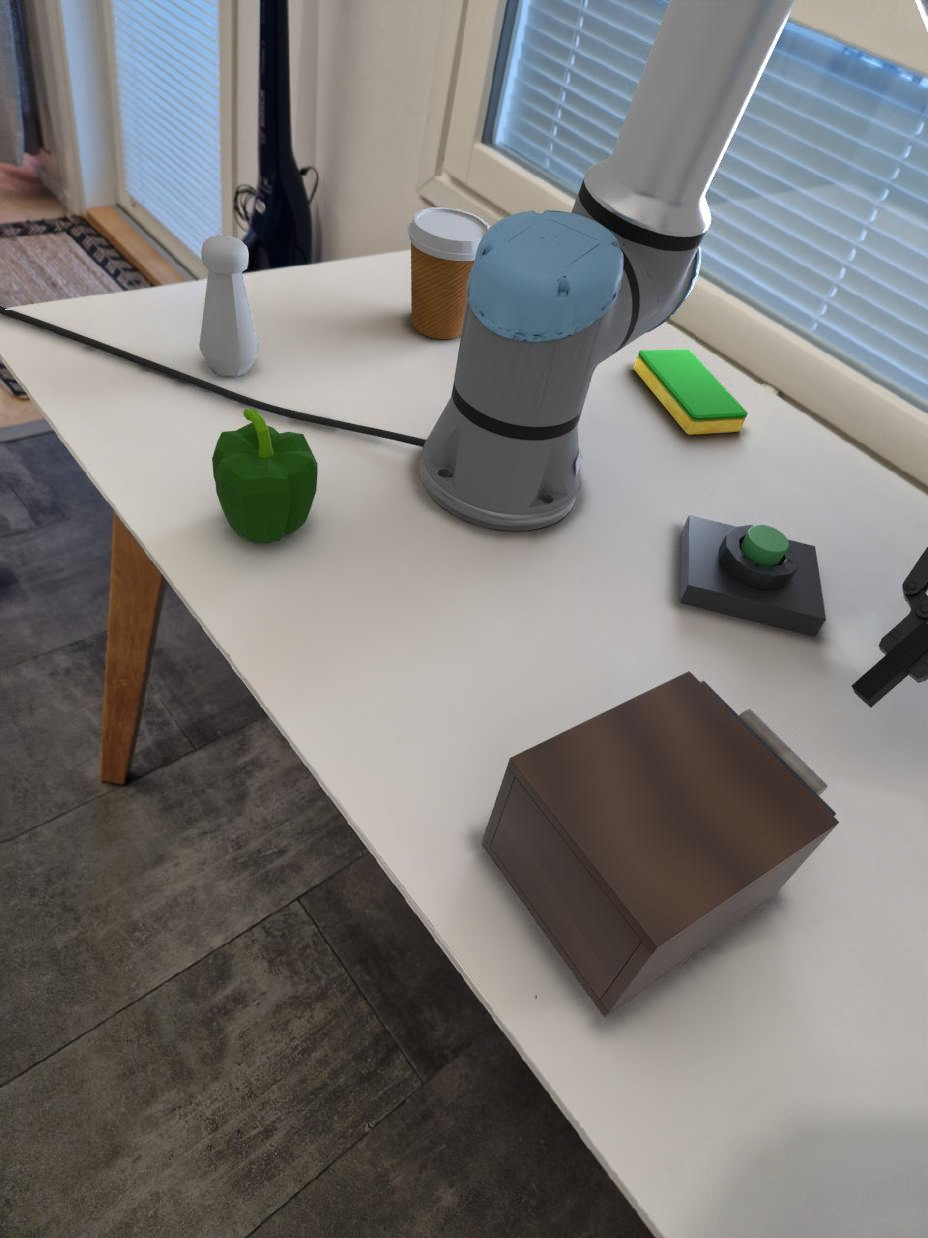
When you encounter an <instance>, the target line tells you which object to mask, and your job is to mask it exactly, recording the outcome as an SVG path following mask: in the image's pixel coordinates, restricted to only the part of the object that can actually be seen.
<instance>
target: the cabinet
mask: <svg viewBox="0 0 928 1238" xmlns="http://www.w3.org/2000/svg"><path fill="white" fill-rule="evenodd" d="M839 823H840V821H839V820H838V819H837V818H836V816H835V817H834V816H833V815H832V814H831V813H830V812H829V811H828V810H827V809H826V808H825V807H824V806H823V805H822V804H821V803H820V802H819V801H818V800H817V799H816V798H815V797H814V796H813V795H812V794H811V793H810V792H809V791H808V790H807V789H806V788H805V787H804V786H803V785H802V784H801V783H800V782H799V781H798V780H797V779H796V778H795V777H794V776H793V775H792V774H791V773H790V772H789V771H788V770H787V769H786V768H785V767H784V766H783V765H782V764H781V763H780V762H779V761H778V760H777V759H776V758H775V757H774V756H773V755H772V754H771V753H770V752H769V751H768V750H767V749H766V748H765V747H764V746H763V745H762V744H761V743H760V742H759V741H758V740H757V739H756V738H755V737H754V736H753V735H752V734H751V733H750V732H749V731H748V730H747V729H746V728H745V727H744V726H743V725H742V724H741V723H740V722H739V721H738V720H737V719H736V718H735V717H734V716H733V715H732V714H731V713H730V712H729V711H728V710H727V709H726V708H725V707H724V706H723V705H722V704H721V703H720V702H719V701H718V700H717V699H716V697H715V696H714V695H713V694H712V693H711V692H710V691H709V690H708V689H707V688H706V687H705V686H704V685H703V684H702V683H701V681H700V680H699V679H698V678H697V677H696V676H695V675H694V674H693V673H692V672H691V671H689V670H688V671H686V672H684V673H682V674H680V675H678V676H675V677H674V678H671V679H669V680H667V681H665V682H663V683H661V684H659V685H657V686H655V687H652V688H651V689H649V690H647V691H645V692H642V693H641V694H639V695H636V696H634V697H632V698H630V699H628V700H627V701H624V702H622V703H620V704H618V705H616V706H614V707H611V708H610V709H607V710H606V711H603V712H601V713H599V714H597V715H595V716H593V717H591V718H589V719H586V720H585V721H583V722H581V723H579V724H577V725H575V726H573V727H570V728H568V729H566V730H565V731H562V732H560V733H558V734H556V735H554V736H552V737H550V738H548V739H545V740H544V741H542V742H540V743H538V744H536V745H534V746H531V747H529V748H527V749H525V750H523V751H521V752H519V753H517V754H516V755H513V756H511V757H509V759H508V762H507V766H506V768H505V771H504V774H503V777H502V779H501V783H500V786H499V789H498V792H497V795H496V798H495V801H494V804H493V807H492V809H491V812H490V816H489V819H488V821H487V824H486V827H485V831H484V834H483V837H482V841H481V845H482V846H483V848H484V849H485V851H486V852H487V853H488V855H489V856H490V857H491V859H492V860H493V862H494V864H496V866H497V867H498V869H499V870H500V872H501V873H502V875H503V876H504V877H505V879H506V880H507V881H508V883H509V884H510V886H511V887H512V889H513V890H514V891H515V892H516V895H518V897H519V898H520V900H521V901H522V903H523V905H524V906H525V907H526V908H527V910H528V911H529V913H530V914H531V915H532V917H533V918H534V920H535V922H536V923H537V924H538V925H539V926H540V928H541V930H542V931H543V932H544V934H545V935H546V936H547V938H548V939H549V941H550V942H551V943H552V945H553V946H554V947H555V949H556V950H557V952H558V954H559V955H560V957H562V959H563V961H564V962H565V964H567V966H568V967H569V969H570V971H572V973H573V974H574V976H575V977H576V979H577V980H578V982H579V983H580V985H581V986H582V987H583V989H584V991H586V993H587V994H588V996H589V997H590V999H591V1000H592V1002H593V1003H594V1004H595V1006H596V1007H597V1009H598V1010H599V1011H600V1013H601V1014H602V1015H603V1017H604V1018H607V1017H608V1016H610V1015H612V1014H613V1013H614V1012H615V1011H617V1010H618V1009H620V1008H621V1007H623V1006H624V1005H625V1004H627V1003H628V1002H630V1001H631V1000H633V999H634V998H635V997H637V996H638V995H639V994H640V993H642V992H643V991H645V990H646V989H648V988H650V986H652V985H653V984H655V983H657V982H658V981H659V980H660V979H661V978H663V977H664V976H666V975H667V974H668V973H670V972H671V971H673V970H674V969H675V968H678V967H679V966H680V965H681V964H683V963H684V962H685V961H687V960H689V958H691V957H693V956H694V955H696V954H697V953H698V952H699V951H701V950H702V949H704V948H705V947H707V946H708V945H709V944H711V943H712V942H714V941H715V940H716V939H717V938H719V937H720V936H722V935H723V934H724V933H726V932H728V931H729V930H730V929H731V928H733V927H735V926H736V925H738V924H739V923H740V922H742V921H743V920H744V919H746V918H747V917H749V916H750V915H751V914H753V913H754V912H755V911H757V910H758V909H759V908H761V907H763V906H764V905H765V904H767V903H769V902H770V901H771V900H773V898H774V897H775V896H776V895H777V893H779V891H780V890H781V889H782V888H783V887H784V885H786V883H787V882H788V881H789V880H790V879H791V878H792V877H793V875H794V874H795V873H796V872H797V871H798V870H799V869H800V868H801V867H802V866H803V864H805V862H806V861H807V860H808V858H810V856H811V855H812V854H813V853H814V852H815V851H816V850H817V848H818V847H819V846H820V845H821V844H822V843H823V842H824V840H825V839H826V838H827V837H828V836H829V835H830V834H831V832H833V830H834V829H835V828H836V827H837V826H838V825H839Z"/></svg>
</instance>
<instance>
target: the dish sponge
mask: <svg viewBox="0 0 928 1238" xmlns="http://www.w3.org/2000/svg"><path fill="white" fill-rule="evenodd" d="M635 359H636V360H635V363H634V365H633V370H634V371H635V373H636V374H637V375H638V377H640V379H641V380H642V381H643V382H644V383H645V385H646V386H647V387H648V389H649V390H650V391H651V392H652V393H653V394H654V396H655V397H656V398H657V399H658V401H659V402H660V403H661V404H662V405H663V407H664V408H665V409H666V410H667V411H668V413H669V414H670V415H671V417H673V419H674V421H676V423H677V424H678V425H679V427H681V429H682V430H683V431H684V432H685V434H687V435H689V436H693V435H706V434H722V433H735V432H736V433H738V432H739V433H740V431H741V429H742V428H743V425H744V423H745V421H746V419H747V416H748V414H749V412H748V411H746V409H745V408H744V407H743V406H742V405H741V404H740V402H738V400H737V399H735V397H734V396H733V395H732V394H731V393H730V392H729V391H728V389H727V388H725V386H724V385H723V384H722V383H721V382H720V381H719V380H718V379H717V378H716V376H715V375H714V374H713V373H712V372H711V371H710V370H709V369H708V368H707V367H706V366H705V364H703V362H702V361H701V360H700V359H699V358H698V357H697V356H696V355H695V354H694V353H693V351H692V350H690V349H688V348H680V349H679V348H678V349H645V350H641V349H640V350H639V351H638V353H637V357H636V358H635Z"/></svg>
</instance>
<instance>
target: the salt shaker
mask: <svg viewBox="0 0 928 1238" xmlns="http://www.w3.org/2000/svg"><path fill="white" fill-rule="evenodd" d="M200 257H201V262H202V265H203V266H204V267H205V268H206V269H207V270H208V272H207V279H206V288H205V295H204V303H203V312H202V319H201V328H200V336H199V337H200V338H199V345H198V346H199V350H200V352H201V355H202V356H203V359H204V361H205V362H206V364H207V367H208V368H209V369H210V370H212V371H213V372H214V373H216V374H217V375H218V376H222V377H235V378H237V377H238V378H239V377H241V376H242V375H244V374H246V373H248V372H250V371H251V369H252V367H253V365H254V363H255V360H256V359H257V357H258V352H259V342H258V341H259V340H258V336H257V332H256V328H255V322H254V320H253V314H252V310H251V306H250V302H249V298H248V293H247V288H246V284H245V280H244V274H243V272H244V271H246V270H247V269H248V267H249V257H250V253H249V248H248V246H247V245H246V244H245V243H244V242H243V241H242V240H241V239H239V238H237V237H234V236H230V235H227V234H226V235H224V234H223V235H221V234H220V235H219V234H217V235H213V236H210V237H208V238H206V239H205V240H204V241H203V242H202V245H201V251H200Z"/></svg>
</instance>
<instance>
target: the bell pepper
mask: <svg viewBox="0 0 928 1238" xmlns="http://www.w3.org/2000/svg"><path fill="white" fill-rule="evenodd" d="M243 417H245V419H246V421H250V423H248V424H246V425H245V426H242V427H240V428H237V429H235V430H226V431H221V433H220V435H219V437H218V439H217V440H216V444H215V448H214V450H213V453H212V457H211V462H212V463H211V465H212V474H213V475H212V476H213V479H214V483H215V492H216V496H217V499H218V501H219V504H220V507H221V509H222V512H223V515H224V516H225V518H226V520H227V522H228V524H229V526H230V527H231V529H232V530H233V531H234V532H235V533H236V534H237V535H238V536H240V537H242V538H243V539H245V540H247V541H249V542H251V543H261V544H270V543H271V544H272V543H274V542H277V541H281V540H282V539H283V537H284V535H285V534H292V533H294V532H296V531H298V530H299V529H300V528H301V527H303V526H304V524H305V523H306V522H307V520H308V517H309V514H310V511H311V509H312V506H313V503H314V500H315V497H316V494H317V490H318V489H317V487H318V476H319V475H318V474H319V473H318V472H319V468H318V467H319V466H318V465H319V464H318V461H317V459H316V457H315V454H314V453H313V450H312V448H311V446H310V444H309V442H308V441H307V438H306V437H305V434H304V433H299V432H293V431H284V432H279V431H277V430H276V428H275V427H273V426H270V425H268V424H267V422H266V420H265V418H264V417H263V416H262V414H261V413H260V412H259V411H258V410H256V409H255V408H253V407H249V408H245V409H244V410H243Z"/></svg>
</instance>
